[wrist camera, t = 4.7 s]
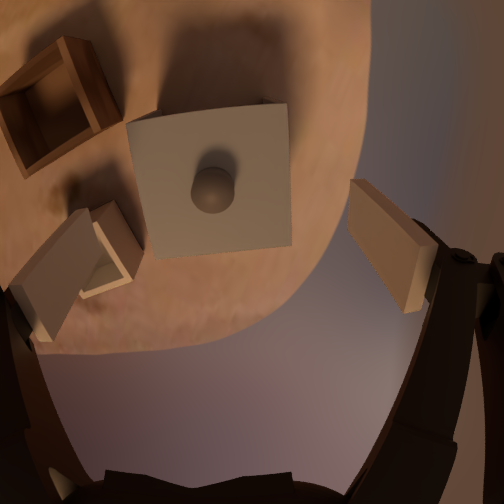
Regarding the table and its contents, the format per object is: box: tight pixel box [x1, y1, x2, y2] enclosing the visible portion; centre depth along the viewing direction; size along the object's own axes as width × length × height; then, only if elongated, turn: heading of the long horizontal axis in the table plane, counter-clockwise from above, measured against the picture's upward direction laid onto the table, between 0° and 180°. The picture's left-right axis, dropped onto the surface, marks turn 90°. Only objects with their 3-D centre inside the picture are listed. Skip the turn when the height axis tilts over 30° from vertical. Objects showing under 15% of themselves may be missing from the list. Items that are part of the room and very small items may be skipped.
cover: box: [126, 97, 292, 260], centre depth 21 cm, size 9×9×9 cm
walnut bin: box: [0, 36, 123, 180], centre depth 18 cm, size 8×8×5 cm
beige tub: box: [79, 200, 144, 299], centre depth 26 cm, size 6×6×4 cm
